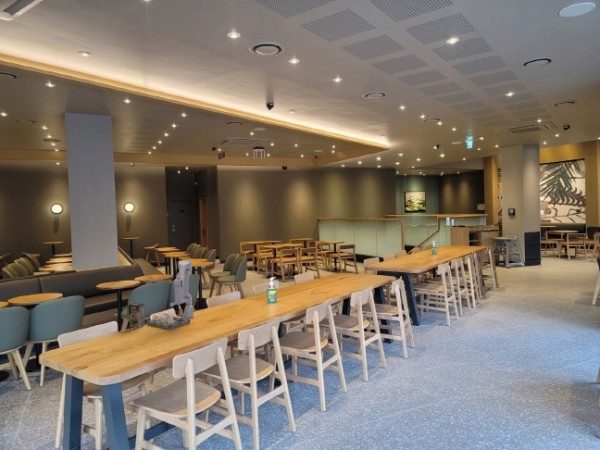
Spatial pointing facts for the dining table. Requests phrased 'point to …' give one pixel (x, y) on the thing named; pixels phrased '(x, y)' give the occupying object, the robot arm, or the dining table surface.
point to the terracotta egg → (180, 312)
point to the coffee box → (136, 315)
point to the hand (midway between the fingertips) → (179, 314)
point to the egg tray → (167, 321)
